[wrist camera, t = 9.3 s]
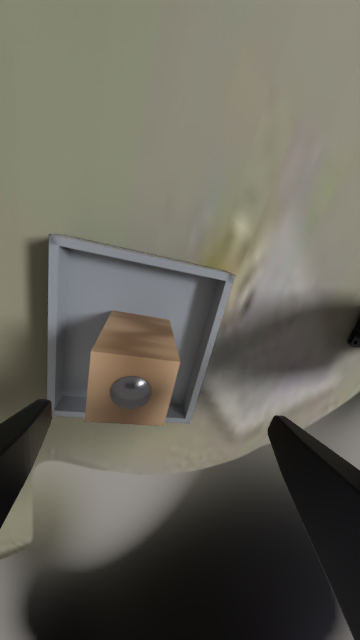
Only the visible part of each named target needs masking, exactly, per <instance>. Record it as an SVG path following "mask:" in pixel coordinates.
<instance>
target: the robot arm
mask: <svg viewBox="0 0 360 640" xmlns="http://www.w3.org/2000/svg"><path fill="white" fill-rule="evenodd" d="M348 343H349V344H350V345H351V346H354V347H360V320H359V322H358V324H357V326H356V328H355V330H354V331H353V333H352V335H351V337H350V339H349V341H348ZM51 419H52V402H51V400H44V399H39V400H36V401H35V402H33V403H32V404H30V405H29V406H27V407H25V408H24V409H22V410H21V411H19V412H18V413H16V414H15V415H13V416H12V417H10V418H8V419H7V420H5V421H4V422H2V423H1V424H0V528H1V526H2V525H3V523H4V521H5V519H6V517H7V515H8V513H9V511H10V509H11V508H12V506H13V504H14V502H15V500H16V498H17V496H18V494H19V493H20V491H21V489H22V487H23V485H24V483H25V481H26V479H27V477H28V475H29V473H30V471H31V469H32V467H33V465H34V462H35V460H36V457H37V455H38V453H39V450H40V448H41V445H42V443H43V441H44V438H45V436H46V433H47V431H48V428H49V426H50V423H51ZM268 436H269V439H270V442H271V445H272V448H273V451H274V454H275V456H276V459H277V462H278V465H279V468H280V471H281V473H282V476H283V478H284V481H285V483H286V485H287V487H288V490H289V492H290V494H291V496H292V499H293V501H294V503H295V506H296V508H297V510H298V512H299V515H300V517H301V519H302V522H303V524H304V526H305V529H306V531H307V533H308V535H309V538H310V540H311V542H312V544H313V547H314V549H315V551H316V553H317V556H318V558H319V560H320V563H321V565H322V567H323V570H324V572H325V574H326V576H327V579H328V581H329V583H330V586H331V588H332V590H333V592H334V595H335V597H336V599H337V601H338V604H339V606H340V608H341V611H342V613H343V615H344V617H345V619H346V622H347V624H348V626H349V629H350V631H351V633H352V636H353V638H354V640H360V470H358V469H357V468H356V467H354V466H353V465H352V464H350V463H349V462H347V461H346V460H344V459H343V458H342V457H340V456H339V455H338V454H336V453H335V452H333V451H332V450H331V449H329V448H328V447H327V446H325V445H324V444H322V443H321V442H319V441H318V440H317V439H315V438H314V437H313V436H311V435H310V434H308V433H307V432H306V431H304V430H303V429H302V428H300V427H299V426H297V425H296V424H295V423H293V422H292V421H290V420H289V419H288V418H286V417H285V416H277V415H276V416H274V417H273V419H272V421H271V423H270V426H269V428H268Z"/></svg>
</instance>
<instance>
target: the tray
mask: <svg viewBox="0 0 360 640" xmlns="http://www.w3.org/2000/svg"><path fill="white" fill-rule="evenodd" d="M234 278H235V275H234V274H232V273H229V272H227V271H224V270H220V269H215V268H211V267H206V266H202V265H197V264H193V263H188V262H184V261H179V260H175V259H170V258H166V257H161V256H157V255H153V254H148V253H144V252H139V251H135V250H130V249H126V248H121V247H117V246H112V245H108V244H103V243H99V242H94V241H90V240H85V239H81V238H76V237H72V236H67V235H60V234H49V274H48V357H47V400H51V402H52V416H66V417H83V418H85V410H86V399H87V389H88V378H89V367H90V356H91V350H92V348H93V346H94V344H95V343H96V341H97V339H98V337H99V335H100V333H101V331H102V329H103V327H104V325H105V323H106V321H107V319H108V318H109V316H110V314H111V312H112V310H114V311H120V312H126V313H132V314H138V315H144V316H150V317H156V318H163V319H169V320H170V323H171V327H172V331H173V335H174V339H175V343H176V347H177V351H178V355H179V359H180V365H179V369H178V373H177V377H176V380H175V384H174V388H173V392H172V396H171V400H170V404H169V408H168V411H167V415H166V419H165V422H170V423H188V424H190V421H191V418H192V415H193V411H194V408H195V405H196V402H197V398H198V395H199V392H200V389H201V385H202V382H203V379H204V376H205V372H206V369H207V366H208V363H209V359H210V356H211V353H212V350H213V346H214V343H215V340H216V337H217V333H218V330H219V327H220V324H221V320H222V317H223V314H224V311H225V307H226V304H227V301H228V298H229V294H230V291H231V288H232V285H233V281H234Z"/></svg>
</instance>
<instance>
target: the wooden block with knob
mask: <svg viewBox="0 0 360 640" xmlns="http://www.w3.org/2000/svg"><path fill="white" fill-rule="evenodd" d="M179 365H180V359H179V355H178V351H177V347H176V343H175V339H174V335H173V331H172V327H171V323H170V320H169V319H163V318H156V317H150V316H144V315H138V314H132V313H126V312H120V311H114V310H112V312H111V314H110V316H109V318H108V319H107V321H106V323H105V325H104V327H103V329H102V331H101V333H100V335H99V337H98V339H97V341H96V343H95V344H94V346H93V348H92V350H91V356H90V367H89V378H88V389H87V399H86V410H85V421H84V422H102V423H120V424H138V425H156V426H164V423H165V419H166V415H167V411H168V408H169V404H170V400H171V396H172V392H173V388H174V384H175V380H176V377H177V373H178V369H179Z"/></svg>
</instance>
